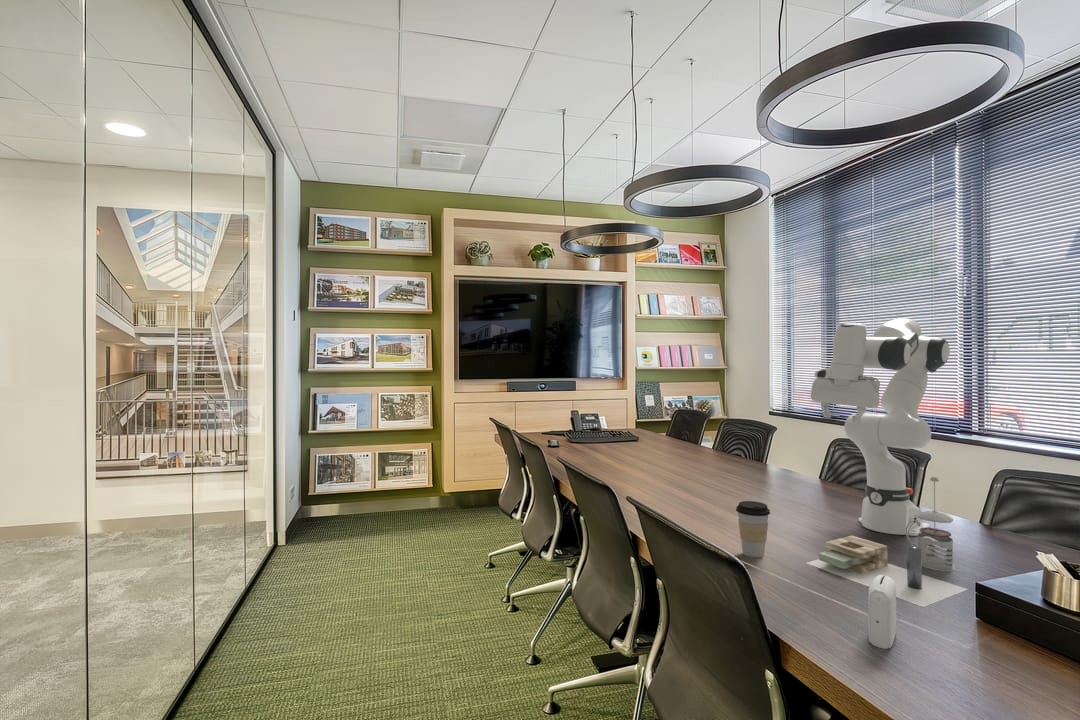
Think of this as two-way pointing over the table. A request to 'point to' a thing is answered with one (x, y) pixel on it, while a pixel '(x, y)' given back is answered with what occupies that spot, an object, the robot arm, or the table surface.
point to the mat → (898, 583)
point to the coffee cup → (753, 527)
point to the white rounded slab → (882, 611)
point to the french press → (940, 535)
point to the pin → (914, 567)
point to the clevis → (855, 554)
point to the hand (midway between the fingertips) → (841, 419)
